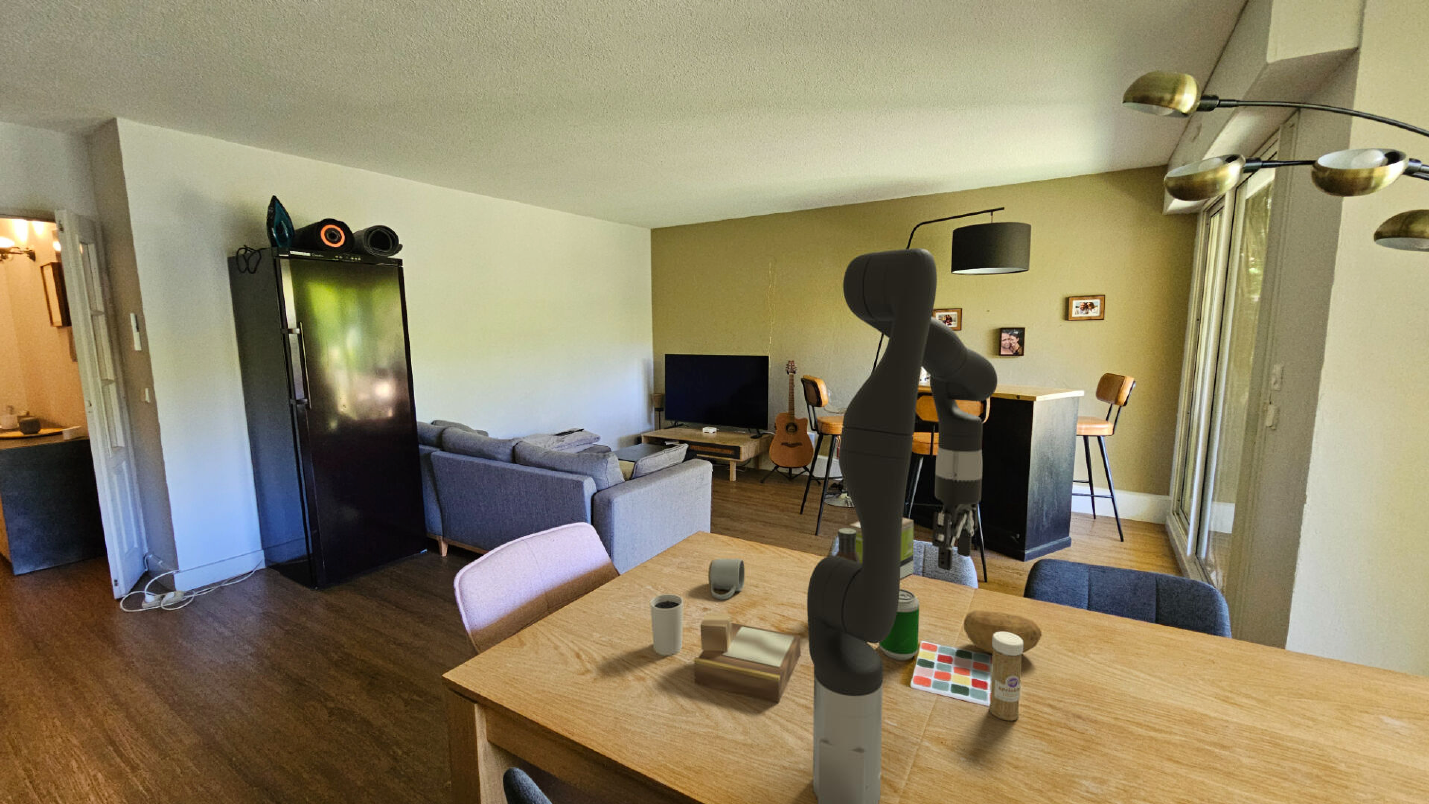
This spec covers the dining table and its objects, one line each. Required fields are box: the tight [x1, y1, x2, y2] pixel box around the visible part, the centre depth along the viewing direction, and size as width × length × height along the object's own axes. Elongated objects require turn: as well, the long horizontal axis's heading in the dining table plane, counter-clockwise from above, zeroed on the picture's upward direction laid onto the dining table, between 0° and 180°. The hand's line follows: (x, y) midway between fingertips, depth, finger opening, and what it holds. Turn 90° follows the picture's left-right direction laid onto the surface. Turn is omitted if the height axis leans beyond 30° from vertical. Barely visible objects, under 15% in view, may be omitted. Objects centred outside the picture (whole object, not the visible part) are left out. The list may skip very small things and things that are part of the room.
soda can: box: [878, 588, 920, 661], centre depth 114 cm, size 8×8×12 cm
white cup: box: [649, 593, 684, 656], centre depth 117 cm, size 7×7×10 cm
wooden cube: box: [699, 612, 733, 652], centre depth 111 cm, size 5×5×5 cm
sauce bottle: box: [834, 527, 860, 563], centre depth 128 cm, size 7×6×20 cm
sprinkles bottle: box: [988, 632, 1023, 721], centre depth 96 cm, size 5×5×14 cm
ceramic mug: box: [707, 558, 746, 601], centre depth 143 cm, size 11×8×8 cm
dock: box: [693, 622, 802, 704], centre depth 110 cm, size 16×16×5 cm
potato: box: [963, 609, 1043, 655], centre depth 114 cm, size 10×14×8 cm
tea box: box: [849, 517, 915, 580], centre depth 150 cm, size 15×10×15 cm
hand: (954, 561), depth 103 cm, fingers open, 8 cm apart
